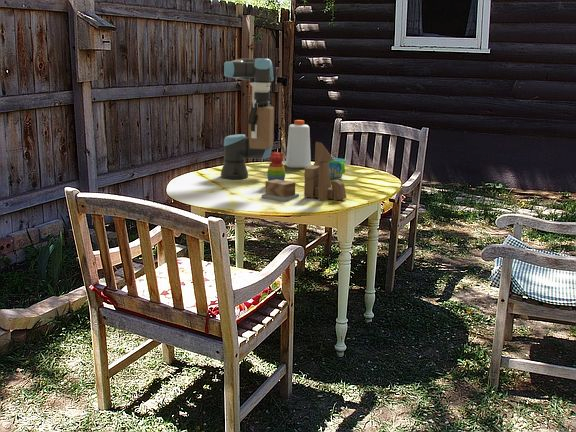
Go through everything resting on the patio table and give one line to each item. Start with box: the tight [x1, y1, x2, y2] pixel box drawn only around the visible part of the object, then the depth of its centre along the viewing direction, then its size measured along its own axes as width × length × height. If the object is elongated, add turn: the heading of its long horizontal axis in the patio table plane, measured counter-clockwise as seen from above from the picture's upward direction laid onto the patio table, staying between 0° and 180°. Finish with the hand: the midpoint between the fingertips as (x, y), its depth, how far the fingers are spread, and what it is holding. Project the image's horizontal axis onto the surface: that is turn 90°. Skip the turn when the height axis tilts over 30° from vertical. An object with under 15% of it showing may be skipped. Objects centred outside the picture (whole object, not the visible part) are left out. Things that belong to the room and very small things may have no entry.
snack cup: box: [329, 157, 346, 179], centre depth 377 cm, size 16×10×10 cm
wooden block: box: [248, 105, 275, 150], centre depth 324 cm, size 10×10×20 cm
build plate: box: [261, 192, 300, 202], centre depth 323 cm, size 13×13×2 cm
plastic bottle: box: [285, 119, 312, 169], centre depth 408 cm, size 15×15×28 cm
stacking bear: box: [266, 151, 286, 181], centre depth 348 cm, size 11×10×18 cm
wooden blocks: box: [303, 141, 348, 202], centre depth 323 cm, size 24×20×28 cm
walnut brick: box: [264, 179, 296, 197], centre depth 322 cm, size 12×8×6 cm, turn 51°
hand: (261, 136), depth 325 cm, fingers closed on wooden block, 12 cm apart
